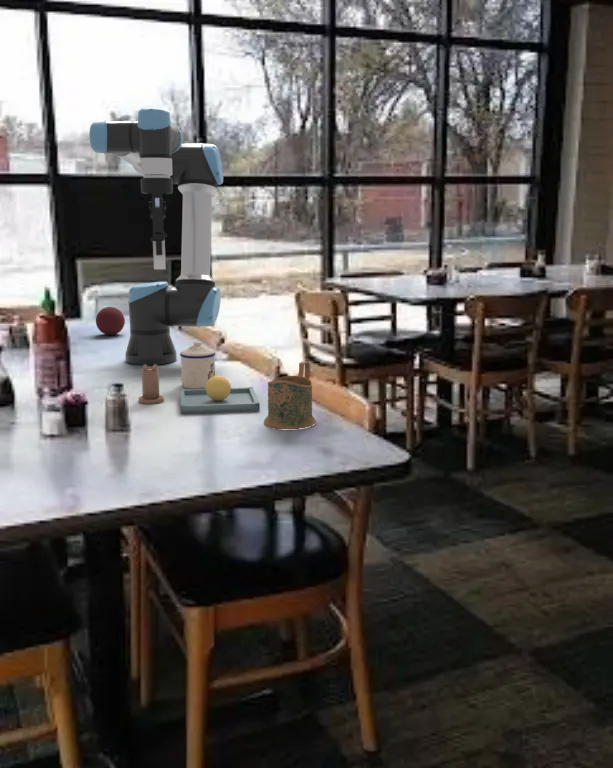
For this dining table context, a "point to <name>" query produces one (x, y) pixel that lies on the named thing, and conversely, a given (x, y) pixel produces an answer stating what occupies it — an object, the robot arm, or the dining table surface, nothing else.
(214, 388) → the ball
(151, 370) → the stand cup
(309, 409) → the brown green vessel
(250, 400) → the tray
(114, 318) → the decorative ball
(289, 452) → the dining table surface
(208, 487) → the dining table surface
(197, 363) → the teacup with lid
